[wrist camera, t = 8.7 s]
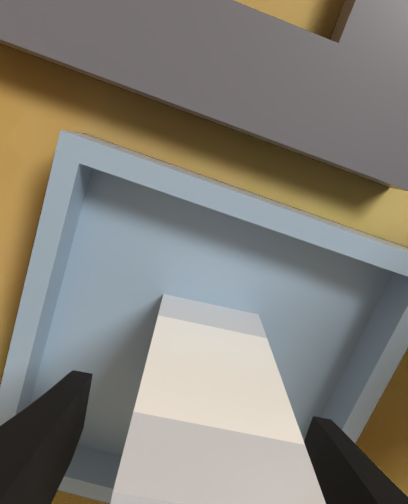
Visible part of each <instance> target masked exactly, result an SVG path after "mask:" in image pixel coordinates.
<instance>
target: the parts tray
mask: <svg viewBox="0 0 408 504" xmlns="http://www.w3.org/2000/svg"><path fill="white" fill-rule="evenodd" d="M163 294H166V295H171V296H175V297H180V298H185V299H189V300H194V301H198V302H203V303H208V304H212V305H217V306H221V307H226V308H231V309H235V310H240V311H244V312H249V313H254V314H258V315H259V317H260V320H261V323H262V326H263V328H264V331H265V334H266V337H267V340H268V342H269V345H270V348H271V351H272V354H273V356H274V359H275V362H276V365H277V368H278V370H279V373H280V376H281V379H282V382H283V385H284V387H285V390H286V393H287V396H288V399H289V401H290V404H291V407H292V410H293V413H294V415H295V418H296V421H297V424H298V427H299V429H300V432H301V435H302V438H303V441H304V440H305V437H306V434H307V432H308V429H309V426H310V423H311V420H312V418H313V416H316V417H321V418H326V419H331V420H332V421H333V422H334V423H335V424H336V425H337V426H338V427H339V428H340V429H341V430H342V431H343V432H344V433H345V434H346V435H347V436H348V437H349V438H350V439H351V440H352V441H353V442H354V443H356V442H357V440H358V438H359V436H360V434H361V432H362V431H363V429H364V427H365V425H366V423H367V421H368V420H369V418H370V416H371V414H372V412H373V411H374V409H375V407H376V405H377V403H378V401H379V400H380V398H381V396H382V394H383V392H384V390H385V389H386V387H387V385H388V383H389V381H390V379H391V378H392V376H393V374H394V372H395V370H396V369H397V367H398V365H399V363H400V361H401V359H402V358H403V356H404V354H405V352H406V350H407V348H408V248H407V247H404V246H401V245H398V244H395V243H393V242H390V241H387V240H384V239H381V238H378V237H376V236H373V235H370V234H367V233H364V232H361V231H359V230H356V229H353V228H350V227H347V226H344V225H342V224H339V223H336V222H333V221H330V220H328V219H325V218H322V217H319V216H316V215H313V214H311V213H308V212H305V211H302V210H299V209H296V208H294V207H291V206H288V205H285V204H282V203H279V202H277V201H274V200H271V199H268V198H265V197H263V196H260V195H257V194H254V193H251V192H248V191H246V190H243V189H240V188H237V187H234V186H231V185H229V184H226V183H223V182H220V181H217V180H214V179H212V178H209V177H206V176H203V175H200V174H197V173H195V172H192V171H189V170H186V169H183V168H181V167H178V166H175V165H172V164H169V163H166V162H164V161H161V160H158V159H155V158H152V157H149V156H147V155H144V154H141V153H138V152H135V151H132V150H130V149H127V148H124V147H121V146H118V145H116V144H113V143H110V142H107V141H104V140H101V139H99V138H96V137H93V136H90V135H87V134H84V133H78V132H71V131H64V130H60V134H59V139H58V143H57V147H56V151H55V156H54V160H53V164H52V168H51V173H50V177H49V181H48V186H47V190H46V194H45V198H44V203H43V207H42V211H41V215H40V220H39V224H38V228H37V232H36V237H35V241H34V245H33V250H32V254H31V258H30V262H29V267H28V271H27V275H26V279H25V284H24V288H23V292H22V296H21V301H20V305H19V309H18V313H17V318H16V322H15V326H14V331H13V335H12V339H11V343H10V348H9V352H8V356H7V360H6V365H5V369H4V373H3V377H2V382H1V386H0V426H1V425H2V424H4V423H5V422H6V421H8V420H9V419H11V418H12V417H14V416H15V415H17V414H18V413H20V412H21V411H22V410H24V409H25V408H26V407H28V406H29V405H30V404H32V403H33V402H34V401H35V400H37V399H38V398H39V397H41V396H42V395H43V394H44V393H46V392H47V391H48V390H49V389H51V388H52V387H53V386H54V385H55V384H57V383H58V382H59V381H60V380H61V379H62V378H64V377H65V376H66V375H67V374H68V373H69V372H71V371H73V370H75V371H81V372H86V373H91V374H93V376H92V381H91V387H90V393H89V399H88V405H87V411H86V416H85V422H84V428H83V431H82V434H81V436H80V439H79V442H78V445H77V447H76V450H75V453H74V456H73V458H72V461H71V463H70V465H69V467H68V469H67V471H66V473H65V475H64V478H63V480H62V482H61V484H60V486H59V488H58V490H59V491H63V492H67V493H71V494H74V495H78V496H82V497H86V498H90V499H94V500H98V501H102V502H106V503H109V504H110V503H111V498H112V493H113V489H114V485H115V481H116V478H117V474H118V470H119V466H120V462H121V458H122V454H123V450H124V446H125V442H126V438H127V435H128V431H129V427H130V423H131V419H132V415H133V411H134V407H135V403H136V399H137V395H138V392H139V388H140V384H141V380H142V376H143V372H144V368H145V364H146V360H147V356H148V352H149V349H150V345H151V341H152V337H153V333H154V329H155V325H156V321H157V317H158V313H159V309H160V306H161V302H162V298H163Z"/></svg>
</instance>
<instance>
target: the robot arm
mask: <svg viewBox="0 0 408 504" xmlns="http://www.w3.org/2000/svg"><path fill="white" fill-rule="evenodd" d="M92 376H93V374H91V373H86V372H81V371H75V370H73V371H71V372H69V373H68V374H67V375H66V376H65V377H64V378H62V379H61V380H60V381H59V382H58V383H57V384H55V385H54V386H53V387H52V388H51V389H49V390H48V391H47V392H46V393H44V394H43V395H42V396H41V397H39V398H38V399H37V400H35V401H34V402H33V403H32V404H30V405H29V406H28V407H26V408H25V409H24V410H22V411H21V412H20V413H18V414H17V415H15V416H14V417H12V418H11V419H9V420H8V421H6V422H5V423H4V424H2V425H1V426H0V504H51V502H52V500H53V498H54V496H55V494H56V492H57V490H58V488H59V486H60V484H61V482H62V480H63V478H64V475H65V473H66V471H67V469H68V467H69V465H70V463H71V461H72V458H73V456H74V453H75V450H76V447H77V445H78V442H79V439H80V436H81V434H82V431H83V428H84V422H85V416H86V411H87V405H88V399H89V393H90V387H91V381H92ZM304 444H305V446H306V449H307V452H308V455H309V458H310V460H311V463H312V466H313V469H314V472H315V474H316V477H317V480H318V483H319V486H320V488H321V491H322V494H323V497H324V500H325V503H326V504H408V497H407V496H406V495H405V494H404V493H403V492H402V491H401V490H400V489H399V488H398V487H397V486H396V485H395V484H394V483H393V482H392V481H391V480H390V479H389V478H388V477H387V476H386V475H385V474H384V473H383V472H382V471H381V470H380V469H379V468H378V467H377V466H376V465H375V464H374V463H373V462H372V461H371V460H370V459H369V458H368V457H367V456H366V455H365V454H364V453H363V452H362V451H361V449H360V448H359V447H358V446H357V445H356V444H355V443H354V442H353V441H352V440H351V439H350V438H349V437H348V436H347V435H346V434H345V433H344V432H343V431H342V430H341V429H340V428H339V427H338V426H337V425H336V424H335V423H334V422H333V421H332V420H331V419H326V418H321V417H316V416H313V418H312V420H311V423H310V426H309V429H308V432H307V434H306V437H305V440H304Z"/></svg>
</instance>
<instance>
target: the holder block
mask: <svg viewBox="0 0 408 504" xmlns="http://www.w3.org/2000/svg"><path fill="white" fill-rule="evenodd" d="M0 43H1V44H3V45H6V46H9V47H11V48H14V49H17V50H20V51H22V52H25V53H28V54H30V55H33V56H36V57H38V58H41V59H44V60H47V61H49V62H52V63H55V64H57V65H60V66H63V67H66V68H68V69H71V70H74V71H76V72H79V73H82V74H84V75H87V76H90V77H93V78H95V79H98V80H101V81H103V82H106V83H109V84H112V85H114V86H117V87H120V88H122V89H125V90H128V91H130V92H133V93H136V94H139V95H141V96H144V97H147V98H149V99H152V100H155V101H158V102H160V103H163V104H166V105H168V106H171V107H174V108H176V109H179V110H182V111H185V112H187V113H190V114H193V115H195V116H198V117H201V118H204V119H206V120H209V121H212V122H214V123H217V124H220V125H223V126H225V127H228V128H231V129H233V130H236V131H239V132H241V133H244V134H247V135H250V136H252V137H255V138H258V139H260V140H263V141H266V142H269V143H271V144H274V145H277V146H279V147H282V148H285V149H287V150H290V151H293V152H296V153H298V154H301V155H304V156H306V157H309V158H312V159H315V160H317V161H320V162H323V163H325V164H328V165H331V166H333V167H336V168H339V169H342V170H344V171H347V172H350V173H352V174H355V175H358V176H361V177H363V178H366V179H369V180H371V181H374V182H377V183H379V184H382V185H385V186H388V187H390V188H395V189H400V190H405V191H408V0H345V2H344V4H343V7H342V9H341V12H340V14H339V17H338V19H337V22H336V25H335V27H334V30H333V32H332V35H331V37H330V39H327V38H325V37H322V36H320V35H317V34H315V33H312V32H310V31H307V30H305V29H302V28H300V27H297V26H295V25H293V24H290V23H288V22H285V21H283V20H280V19H278V18H275V17H273V16H270V15H268V14H265V13H263V12H260V11H258V10H256V9H253V8H251V7H248V6H246V5H243V4H241V3H238V2H236V1H233V0H0Z"/></svg>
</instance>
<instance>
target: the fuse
mask: <svg viewBox="0 0 408 504" xmlns="http://www.w3.org/2000/svg"><path fill="white" fill-rule="evenodd" d="M110 504H326V503H325V500H324V497H323V494H322V491H321V488H320V486H319V483H318V480H317V477H316V474H315V472H314V469H313V466H312V463H311V460H310V458H309V455H308V452H307V449H306V446H305V444H304V441H303V438H302V435H301V432H300V429H299V427H298V424H297V421H296V418H295V415H294V413H293V410H292V407H291V404H290V401H289V399H288V396H287V393H286V390H285V387H284V385H283V382H282V379H281V376H280V373H279V370H278V368H277V365H276V362H275V359H274V356H273V354H272V351H271V348H270V345H269V342H268V340H267V337H266V334H265V331H264V328H263V326H262V323H261V320H260V317H259V315H258V314H254V313H249V312H244V311H240V310H235V309H231V308H226V307H221V306H217V305H212V304H208V303H203V302H198V301H194V300H189V299H185V298H180V297H175V296H171V295H166V294H163V298H162V302H161V306H160V309H159V313H158V317H157V321H156V325H155V329H154V333H153V337H152V341H151V345H150V349H149V352H148V356H147V360H146V364H145V368H144V372H143V376H142V380H141V384H140V388H139V392H138V395H137V399H136V403H135V407H134V411H133V415H132V419H131V423H130V427H129V431H128V435H127V438H126V442H125V446H124V450H123V454H122V458H121V462H120V466H119V470H118V474H117V478H116V481H115V485H114V489H113V493H112V498H111V503H110Z"/></svg>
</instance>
